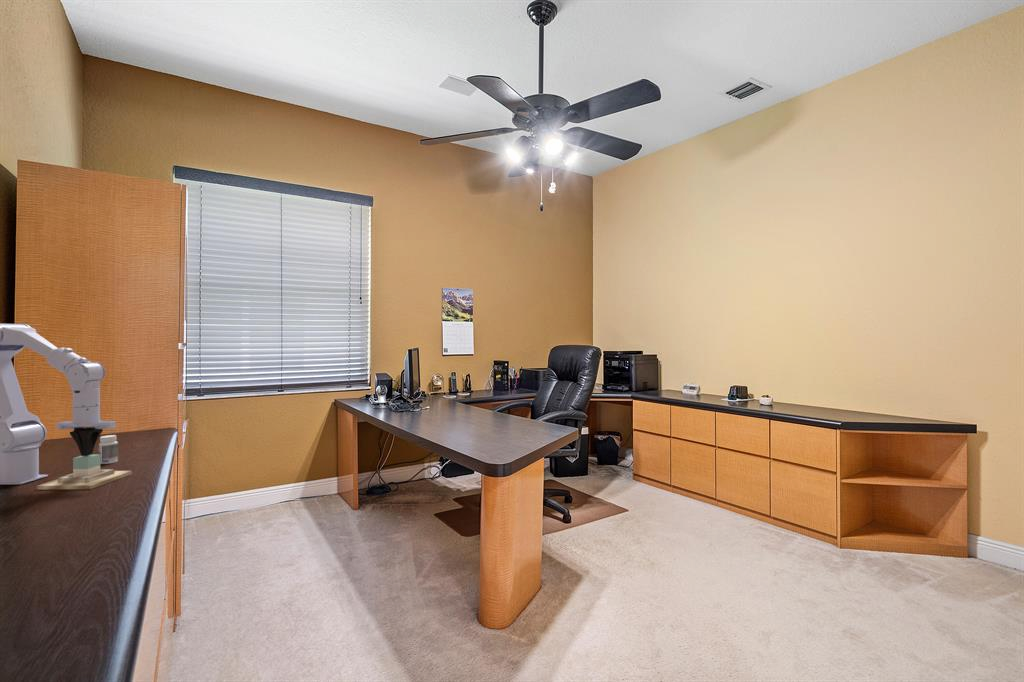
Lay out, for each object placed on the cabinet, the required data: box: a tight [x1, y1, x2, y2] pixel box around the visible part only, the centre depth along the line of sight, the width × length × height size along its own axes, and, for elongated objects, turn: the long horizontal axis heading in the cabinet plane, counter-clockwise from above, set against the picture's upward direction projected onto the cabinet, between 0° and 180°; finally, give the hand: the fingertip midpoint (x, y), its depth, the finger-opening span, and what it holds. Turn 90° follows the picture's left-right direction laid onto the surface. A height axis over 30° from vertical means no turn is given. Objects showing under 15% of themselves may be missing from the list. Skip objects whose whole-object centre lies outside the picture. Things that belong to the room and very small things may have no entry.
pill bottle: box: [98, 434, 119, 465], centre depth 155 cm, size 5×5×8 cm
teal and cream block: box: [72, 453, 101, 477], centre depth 134 cm, size 4×4×6 cm
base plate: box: [36, 468, 133, 491], centre depth 134 cm, size 14×14×2 cm
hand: (86, 455), depth 134 cm, fingers closed
